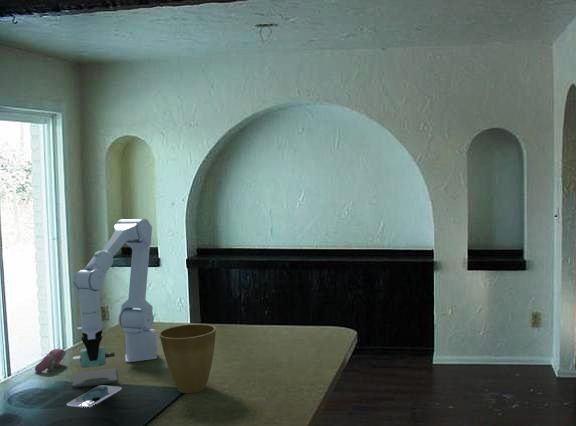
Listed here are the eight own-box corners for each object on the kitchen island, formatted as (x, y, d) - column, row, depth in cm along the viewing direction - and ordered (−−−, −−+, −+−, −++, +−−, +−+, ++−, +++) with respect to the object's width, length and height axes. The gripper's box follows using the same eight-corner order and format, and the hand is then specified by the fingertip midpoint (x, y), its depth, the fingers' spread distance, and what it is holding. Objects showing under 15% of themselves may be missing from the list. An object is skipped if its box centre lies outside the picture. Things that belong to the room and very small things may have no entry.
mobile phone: (123, 386, 181) (89, 405, 167) (123, 389, 181) (89, 409, 167) (99, 384, 183) (64, 403, 169) (100, 387, 183) (64, 406, 169)
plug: (114, 360, 193) (113, 345, 193) (115, 364, 190) (114, 348, 189) (74, 365, 190) (72, 350, 190) (73, 369, 187) (72, 353, 186)
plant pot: (211, 376, 187) (208, 321, 186) (225, 392, 173) (221, 332, 172) (158, 385, 182) (155, 327, 181) (168, 402, 168) (164, 340, 167)
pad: (116, 369, 198) (116, 368, 198) (117, 382, 186) (116, 380, 186) (74, 375, 194) (74, 373, 194) (72, 387, 183) (72, 385, 183)
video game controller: (45, 378, 198) (53, 358, 197) (32, 371, 198) (40, 351, 197) (62, 368, 207) (70, 348, 206) (50, 361, 208) (58, 342, 207)
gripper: (76, 307, 195) (79, 353, 196) (74, 318, 181) (78, 366, 182) (101, 305, 197) (104, 350, 198) (101, 315, 183) (104, 363, 184)
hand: (93, 358), depth 190 cm, fingers closed on plug, 4 cm apart
